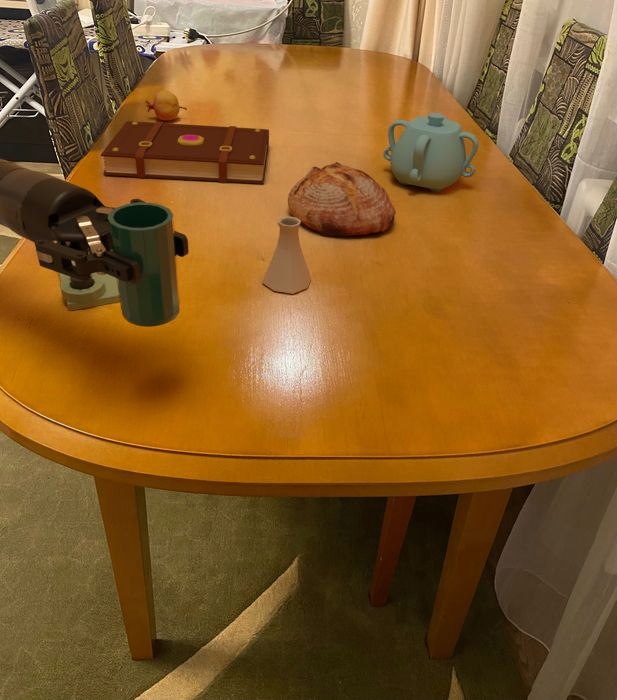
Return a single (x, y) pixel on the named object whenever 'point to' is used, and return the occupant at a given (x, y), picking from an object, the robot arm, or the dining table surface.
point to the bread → (341, 202)
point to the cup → (147, 262)
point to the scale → (90, 292)
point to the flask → (288, 260)
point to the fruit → (165, 105)
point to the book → (188, 152)
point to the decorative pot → (430, 152)
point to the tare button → (81, 283)
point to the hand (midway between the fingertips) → (162, 260)
